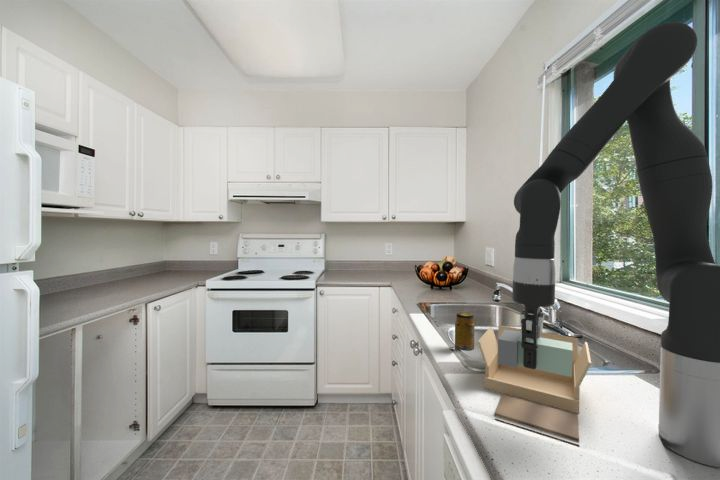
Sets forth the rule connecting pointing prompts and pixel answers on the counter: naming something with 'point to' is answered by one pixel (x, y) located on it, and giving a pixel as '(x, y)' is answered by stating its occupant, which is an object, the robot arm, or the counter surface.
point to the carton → (535, 374)
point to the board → (539, 418)
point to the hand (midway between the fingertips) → (531, 362)
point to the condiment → (464, 332)
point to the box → (549, 353)
